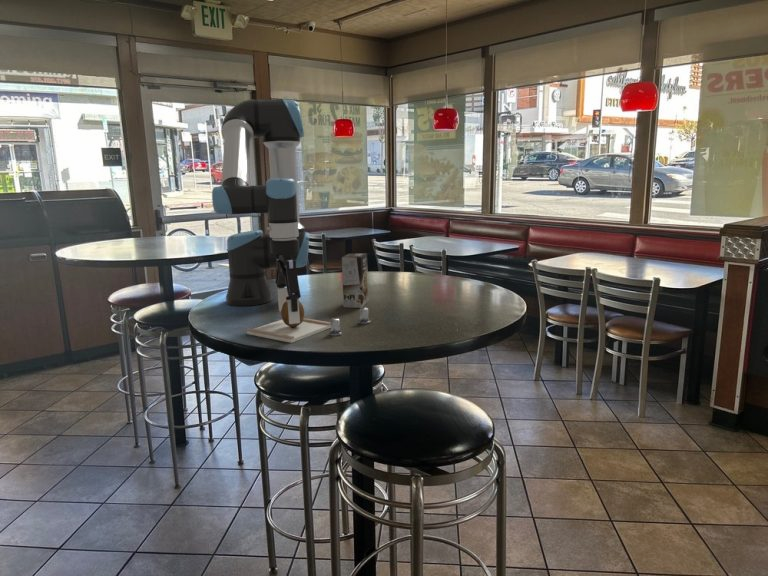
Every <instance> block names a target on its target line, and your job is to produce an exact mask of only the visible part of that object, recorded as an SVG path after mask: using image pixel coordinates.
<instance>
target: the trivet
mask: <svg viewBox="0 0 768 576" xmlns="http://www.w3.org/2000/svg"><path fill="white" fill-rule="evenodd" d="M328 329H331V321H325V320H324V321H323V320H320V319H319V320H317V319H314V318H313V319H312V318H307V317H306V318H305V317H304V319H303V321H302V323H301V324H300V325H298V326H297V327H295V328H292V327H290V326H288V325H286V324H285V323H284V321H283V320H282V319H279V320H276V321H273V322H269V323H267V324H264V325H260V326H259V327H255V328H251V327H248V328H246V335H249V336H256V337H260V338H266V339H271V340H275V341H281V342H287V343H290V344H291V343H294V342H297V341H300V340H302V339H305V338H308V337H310V336H313V335H315V334H318V333H321V332H323V331H326V330H328Z"/></svg>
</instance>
